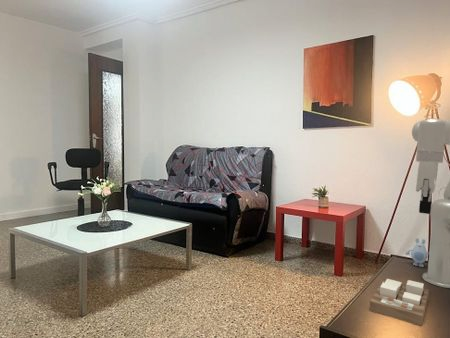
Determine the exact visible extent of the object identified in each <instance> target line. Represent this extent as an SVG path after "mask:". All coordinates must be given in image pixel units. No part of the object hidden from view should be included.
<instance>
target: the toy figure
mask: <svg viewBox="0 0 450 338" xmlns="http://www.w3.org/2000/svg"><path fill="white" fill-rule="evenodd" d="M414 241H415V245H414V246H413V248H411V249H409V250H406V251H405V255H410V256H411V259H412V260H413V261H414V262H413V263H412V265H413V266H414V265H415V266H414V267H417V266H418V267H420V268H424V264H423V263H425V262H426V261H427V260H428V258H429V251H428V250H427V248H426V245H425V244H426V239H425V238H422V239H421V242H420V239H419V237H417V238H415V240H414ZM410 252H411V253H410Z"/></svg>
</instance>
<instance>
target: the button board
mask: <svg viewBox="0 0 450 338" xmlns="http://www.w3.org/2000/svg"><path fill="white" fill-rule="evenodd" d="M387 279H388V278H383V280H382V281H381V282H380V284H379V286H378V287H377V289H376V291H375V293H374V294H373V296H372V297H371V299H370V300H369V311H370V312H374V313H377V314H381V315H383V316H387V317H391V318H394V319H397V320H400V321H404V322H407V323H411V324H413V325H418V326H421V327H422V326H423V321H424V318H425V313H426V308H427V305H428V301H429V293H430V292H429V291H430V290H429V289H427V288H424V287H423V294H422V296H421V302H420V306H418V305H414V304H411V303H407V302H403V301H402V298H403V295H404V292H406V284H407V283H403V282H402V284H401V290H400V291H399V290H398V295H397V297H396V299H392V298H389V297H385V296H381V295H380V286H381V285H382V283H383V282H384V283H385V281H386V280H387Z"/></svg>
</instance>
